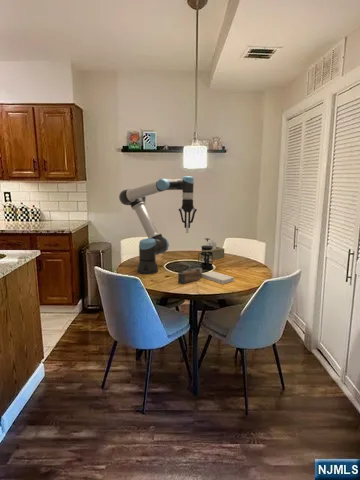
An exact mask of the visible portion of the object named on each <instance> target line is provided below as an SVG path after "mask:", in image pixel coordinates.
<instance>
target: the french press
mask: <svg viewBox="0 0 360 480" xmlns="http://www.w3.org/2000/svg"><path fill="white" fill-rule="evenodd" d="M204 240H206V243H209V242H208V241H209V240H210V241H211V238H204ZM200 248H201V250H212V248H213V246H209V244H205V245H201V246H200ZM203 253H205V254H203ZM207 253H209V254H207ZM202 255H203V256H204V259H203V258H202ZM197 256H198V257H197V259H198V260H197V265H198V266H199V268H202V271H203V270H204V271H209V270H213V261H214V259H213V253H212V252H201V251H200V252H198V254H197ZM209 256H212V260H211V259H209Z"/></svg>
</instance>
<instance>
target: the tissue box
mask: <svg viewBox="0 0 360 480" xmlns="http://www.w3.org/2000/svg"><path fill="white" fill-rule="evenodd" d="M207 245H208V246H213V248H212V250H202V249H201V251H200V253H201V252H212V253H213V260H217V259H224V258H225V248H223V247H220V246H219V247H218V246H217V242H216V241H214V239H212V240H210V242H207ZM203 254H205V253H203ZM207 254H209V253H207ZM202 259H204V256H203V255H202ZM209 259H211V260H212V256H209Z"/></svg>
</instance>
